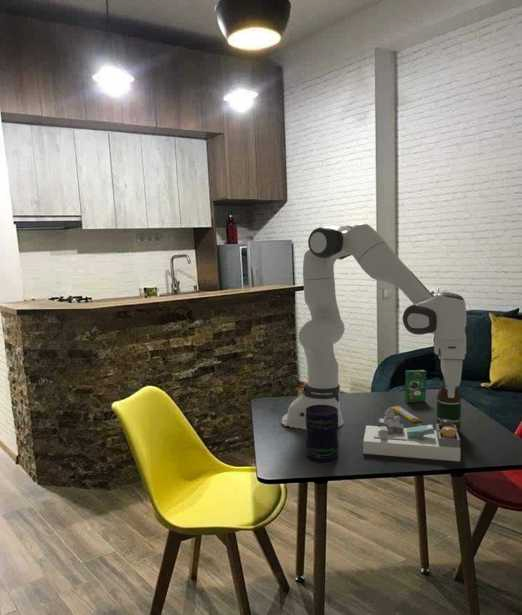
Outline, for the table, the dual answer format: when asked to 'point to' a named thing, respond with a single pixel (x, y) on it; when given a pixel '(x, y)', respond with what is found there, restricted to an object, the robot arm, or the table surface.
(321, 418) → the storage jar
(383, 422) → the rocker charcoal
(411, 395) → the coffee box
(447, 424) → the button black
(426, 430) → the rocker teal
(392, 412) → the grey rounded piece
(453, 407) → the beer bottle
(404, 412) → the candy bar
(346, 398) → the table surface
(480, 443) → the table surface
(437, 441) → the console
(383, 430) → the slide knob
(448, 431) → the button orange
